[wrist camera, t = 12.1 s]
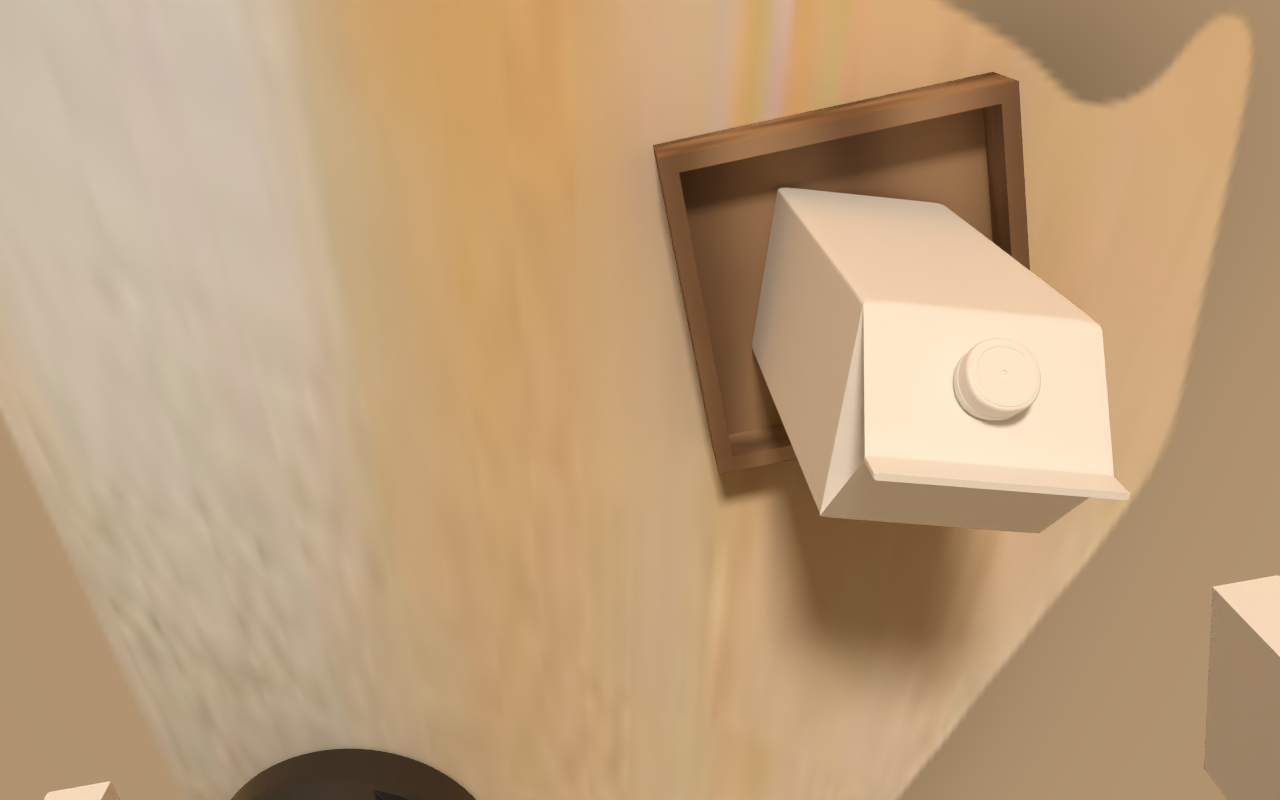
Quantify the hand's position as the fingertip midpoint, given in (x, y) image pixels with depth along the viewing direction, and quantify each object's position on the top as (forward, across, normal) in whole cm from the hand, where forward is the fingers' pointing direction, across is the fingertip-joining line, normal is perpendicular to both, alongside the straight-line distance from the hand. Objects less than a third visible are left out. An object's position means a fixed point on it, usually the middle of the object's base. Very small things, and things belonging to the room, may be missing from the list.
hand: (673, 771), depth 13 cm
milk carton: (+34, +9, -6) cm, 36 cm away
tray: (+34, +9, -6) cm, 36 cm away
